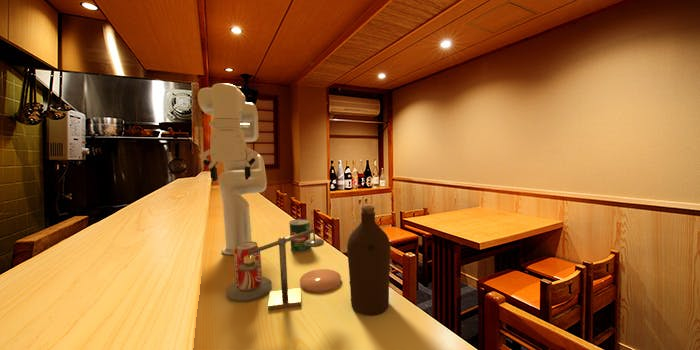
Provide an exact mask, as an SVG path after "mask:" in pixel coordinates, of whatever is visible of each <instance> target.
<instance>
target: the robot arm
mask: <svg viewBox="0 0 700 350" xmlns="http://www.w3.org/2000/svg"><path fill="white" fill-rule="evenodd" d="M197 102H198V105H199V107H200V110H201V111H202V112H203V113H204V114H206V115H208V116H213V119H212V121H209V122H208V125H209V127H213V129H212V130H210V145H209V146H210V149H207V150H205V151H204V152H201V153H200V154H199V158H200V159H201V160H202V163H203V164H204V165H206V166H207V168H209V170H210V171H209V173H210V179H212V182H216V181H218V185H219V191H220V195H221V200H222V208H223V223H224V235H225V238H224V239H225V245H224V246H223V247H222V248H221V251H222V254H224V255H228V256H234V251H235V249H236V245H238V244H240V243H243V242H253V241H252V225H251V224H252V223H251V212H250V211H251V209H250V203H249V201H247V199H246V198H245V197H243V195H246V194H247V195H248V194H258V193H263V192H264V191H265V190H266V189H267V186H268V185H267V183H268V182H267V181H268V179H267V173H266V168H265V161H264V158H263V156H262V155H261V154H259V153H258V152H257V151H255V150H253V149H250V148H249V147H247V143H253V142H256V141H257V140H258V139H259V114H258V110H257V109H258V108H257V107H256V105H255V104H254V103H253V102H247V101H246V96H245V94H244V93H243V92H242V91H241V90H240V89H239V88H237V86H236V85H233V84H231V83H222V82H221V83H220V82H219V83H214V84H213V85H212V86H211V87H202V88H200V89H199V91H198V93H197ZM209 155H210V160H211V161H210V160H209V159H208V158H207V157H208V156H209ZM218 163H223V170H224V171H223V172H221V173H220V174H219V176H218V169H217V167H216V166H217V164H218Z"/></svg>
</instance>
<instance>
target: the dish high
mask: <svg viewBox="0 0 700 350" xmlns="http://www.w3.org/2000/svg"><path fill="white" fill-rule="evenodd" d="M341 282H342V278H341V274H340V273H339V272H338V271H336V270H334V269H333V270H332V269H329V268H319V269H318V268H317V269H315V270H314V269H313V270H310V271H307V272H306V273H304V274H303V275H302V276H301V277H300V278H299V286H300V288H301V287H302V289H303V291H306V290H307V292H309V291H310V293H326V292H329V291H333V290H335V289H336V288H338V287H339V286H340V284H341Z"/></svg>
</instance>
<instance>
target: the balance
mask: <svg viewBox="0 0 700 350" xmlns="http://www.w3.org/2000/svg"><path fill="white" fill-rule="evenodd" d="M308 234H310V235H312V234H313V235H312V236H313V238H311V239H309V240H306V241H305V246H307V247H311V248H318V247H321V246H324V244H325V240H324V239H323V238H316V231H315V229H314V228H310V230H308V231H305V232H302V233H299V234H296V235H293V236H290V235H289V236H288V237H284V236H281V237H279V238H278V239H277V240H276V241H274V242H271V243H268V244H265V245H261V246H260V247H259V246H258V247H259V248H256V249H253V250H250V251H248V255H247V256H245V257H244V262H243V263H241V264H240V265H239V269H240V270H241V271H252V270H255V269H257V268H259V267H260V262H259V261H255V256H254V255H251V254H254V253H257V252H259V251H260V252H262V251H265V250H267V249H271V248H273V247H277V246H278V253H279V266H280V267H279V268H280V285H281V286H280V288H281V289H280V290H271V291H270V292H269V297H268V298H269V299H268V305H267V310H268V311H273V310H274V311H275V310H281V309H291V308H298V307H302V299H301V298H302V297H301V296H302V295H301V287H298V288H297V287H296V288H290V289H289V287H288V285H289V284H288V268H287V251H286V250H287V249H286V247H287V245H286V244H287V243H288V242H291V240H294V239H297V238H300V237H302V236H305V235H308Z"/></svg>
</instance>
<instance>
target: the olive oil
mask: <svg viewBox="0 0 700 350" xmlns="http://www.w3.org/2000/svg"><path fill="white" fill-rule="evenodd" d="M360 210H361V212H360V220H361V222H360V223H359V225H357V227H356V228H355V229H354V230H353V231H352V232H351V233H350V235H349V236H348V237H349V238H348V239H347V244H346V250H347V262H348V274H349V289H350V304H351V308H352V310H353V311H355V313H358V314H360V315H364V316H377V315H381V314H383V313H385V312H386V311H387V310H388V308H389V305H390V304H389V303H390V269H391V266H390V264H391V242H390V238H389V236H388V234H387V233H386V232H385V231H384V230H383V229H382V228H381V227H380V226H379V225H378V223H377V222H376V212H375V206H373V205H372V206H371V205H364V206H361V209H360Z"/></svg>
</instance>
